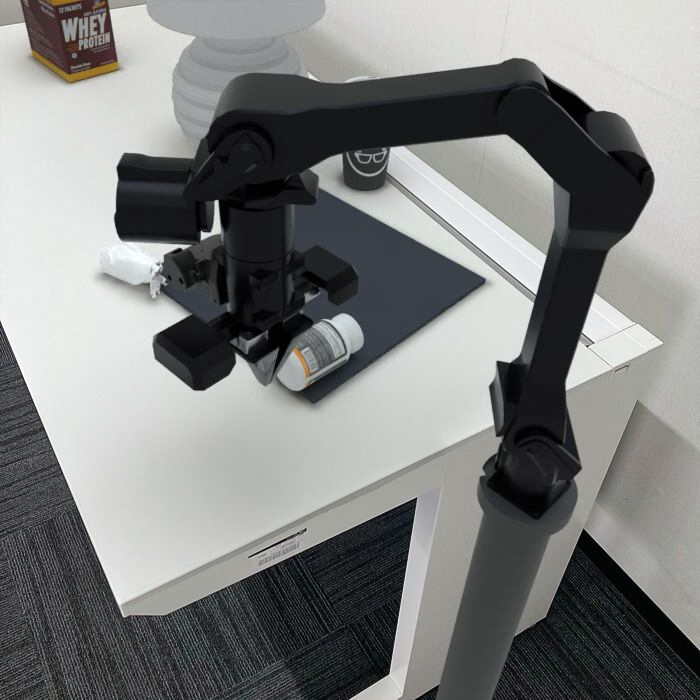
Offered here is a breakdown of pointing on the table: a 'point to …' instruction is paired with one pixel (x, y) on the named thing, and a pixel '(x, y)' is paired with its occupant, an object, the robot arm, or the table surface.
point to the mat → (363, 283)
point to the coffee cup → (365, 162)
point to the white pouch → (132, 265)
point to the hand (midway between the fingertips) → (264, 382)
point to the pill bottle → (321, 351)
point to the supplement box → (71, 36)
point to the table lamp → (229, 48)
